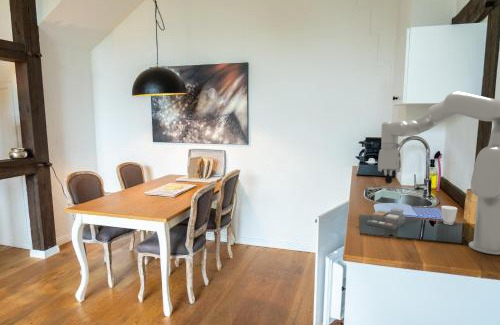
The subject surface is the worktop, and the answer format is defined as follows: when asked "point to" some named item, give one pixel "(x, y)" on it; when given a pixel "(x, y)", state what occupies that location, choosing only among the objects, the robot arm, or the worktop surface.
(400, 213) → the slate key
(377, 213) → the terracotta key
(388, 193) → the l-shaped corner panel
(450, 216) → the cup
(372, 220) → the keypad board
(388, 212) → the sage key
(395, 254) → the worktop surface
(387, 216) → the ivory key
